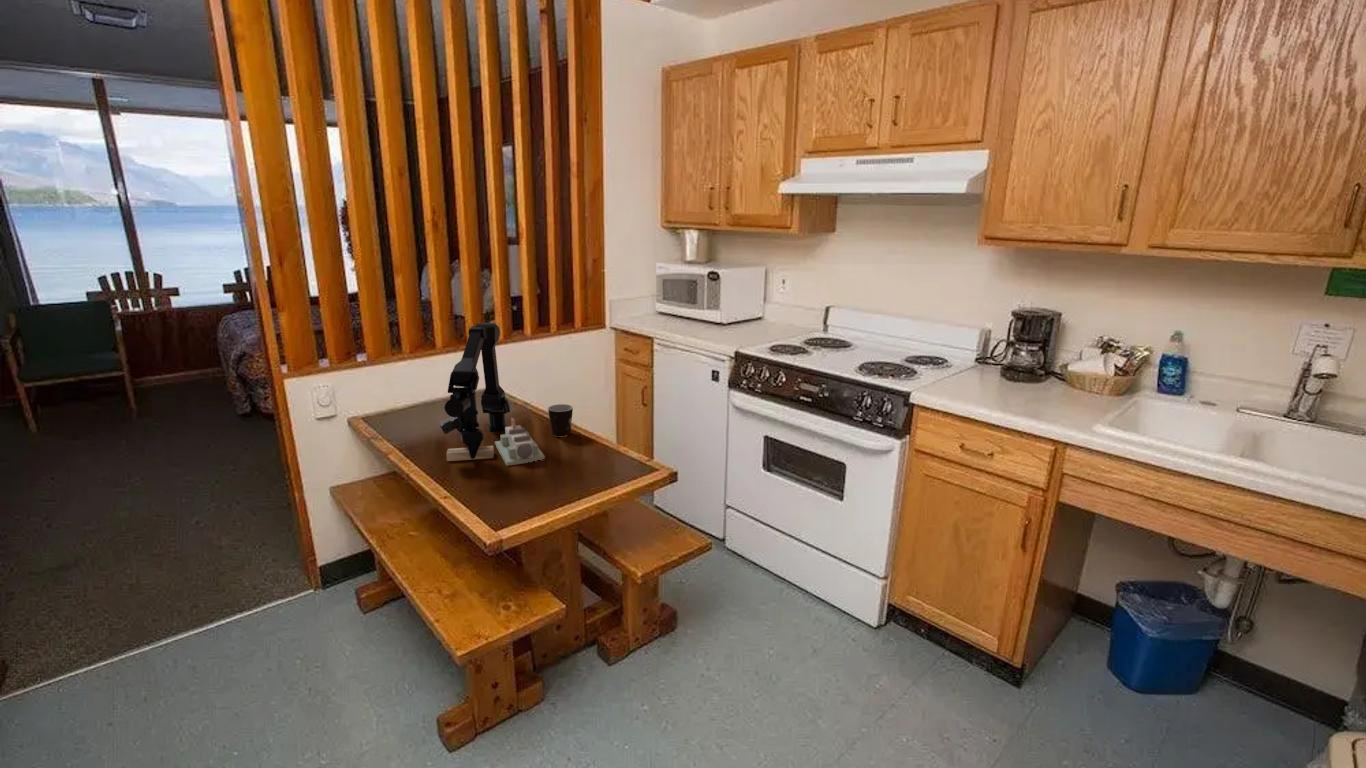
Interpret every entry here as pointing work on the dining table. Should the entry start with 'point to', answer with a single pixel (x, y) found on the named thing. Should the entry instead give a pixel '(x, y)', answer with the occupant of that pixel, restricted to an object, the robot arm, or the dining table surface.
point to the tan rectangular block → (464, 454)
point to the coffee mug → (560, 419)
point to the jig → (518, 446)
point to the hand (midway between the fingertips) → (470, 453)
